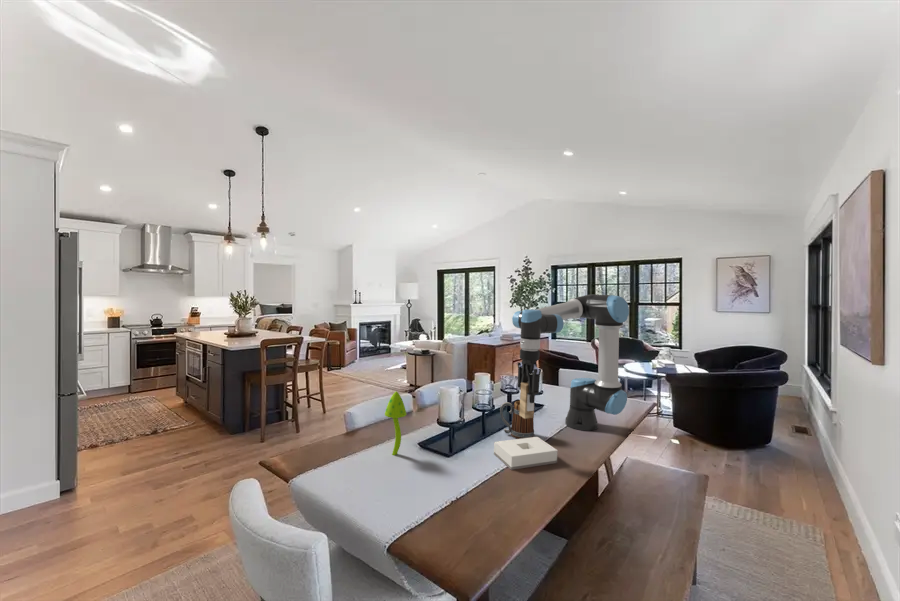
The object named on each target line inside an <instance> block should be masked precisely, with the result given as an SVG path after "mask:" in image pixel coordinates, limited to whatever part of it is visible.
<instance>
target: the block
mask: <svg viewBox="0 0 900 601" xmlns="http://www.w3.org/2000/svg"><path fill="white" fill-rule="evenodd" d="M493 455H494V456H495V457H496V458H498V460H500V461H501V462H502V463H503V464H504V465H505V466H506V467H507V468H509V469H510V470H511V471H512V470H520V469H524V468H532V467H533V468H534V467H540V466H546V465H552V464H558V449H557V448H555V447H553V446H552V445H550V444H549V443H548V442H546V441H544V440H543V439H542V438H540V437H539V436H534V437H531V438H523V439H516V438H514V439H506V440H500V441H494V444H493Z"/></svg>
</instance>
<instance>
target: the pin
mask: <svg viewBox="0 0 900 601" xmlns="http://www.w3.org/2000/svg"><path fill="white" fill-rule="evenodd" d="M519 393H520V395H519V396H520V397H519V401H520V412H519V415H520V416H521V417H523V418H524V419H526V418H533V419H534V417H535V416H534V415H535V410H534V411H527V393H529V387H528V382H524V383H521V390H520V392H519Z"/></svg>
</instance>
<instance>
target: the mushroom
mask: <svg viewBox="0 0 900 601" xmlns="http://www.w3.org/2000/svg"><path fill="white" fill-rule="evenodd" d="M384 416H385V417H387V418H390V419H391V418H392V421H393V426H394V432H395V435H394V436H395V439H394V446H393V450H392V453H391V455H392V456H397V455H398V452H399V450H400V447H401V445H402V444H401V442H402V431H401V426H400V422H399V418H404V417H406V416H407V409H406V406H405V404H404V401H403V399H402V396H401V395H400V393H399V392H398V391H395V392H393V394H392V395H391V396H390V398H389V401H388V403H387V405H386V409H385V411H384Z"/></svg>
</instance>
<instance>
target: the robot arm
mask: <svg viewBox="0 0 900 601" xmlns="http://www.w3.org/2000/svg"><path fill="white" fill-rule="evenodd" d="M629 308H630V307H629V304H628V301H626V299H625V298H624V297H623V296H620V295H614V294H613V295H612V294H594V293H593V294H586V295H581V296H577V297H574V298H570V299H568V300H567V301H566V302H561V303H557V304H554V305H553V304H552V305H548V306H545V307H540V308H535V309H532V308H531V309H530V308H529V309H528V308H527V309H523V310H517V311H515V312H514V313H513V315H512V317H511V319H512V320H511V321H512V325H513V326H514V327H515V328H517V329H520V342H519V343H520V345H519V346H520V349H519V359H520V360H521V362H517V387H518V388H519V389H520V391H521V383H524V382H528V387H529V393H527V411H534V412H535V400H536V398H535V397H536V395H539V394H540V379H541V378H540V377H541V373H542V369H541V368H538V363H537V361H539V360H540V349H541V334H555V333H560V332H561V331H563V329H564V326H565V324H564V320H567V319H571V318H572V319H590V320H595V326H596V327H597V328H598V355H597V356H598V361H597V362H598V371H597V379H595V378H591V377H578V378H577V377H576V378H573V379H572V380H571V381H570V387H569V388H570V389H569V390H570V391H569V392H570V395H569V397H570V398H569V409H568V412H567V415H566V417H565V419H564V421H565V423H564V424H565V425H566V426H567V427H569V428H571V429H574V430H579V431H586V432H587V431H594V430H597V429H598V428H599V427H598V426H599V425H598V424H599V423H598V420H597V415H596V412H595V411H596V410H597V411H601V412H603V413H606V414H610V415H615V416H616V415H619V414H621V413H622V412H623V410H624V409H625V408H626V405H627V402H628V394H627V392H626V391H624V390H623V388H622V387H623V386H622V385H623V384H622V383H621V382H620V381H619V354H620V353H619V352H620V351H619V350H620V348H619V347H620V342H619V341H620V329H621V328H622V327H623V324H624V323H625V322H627V320H628V317H629V315H630V309H629Z"/></svg>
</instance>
